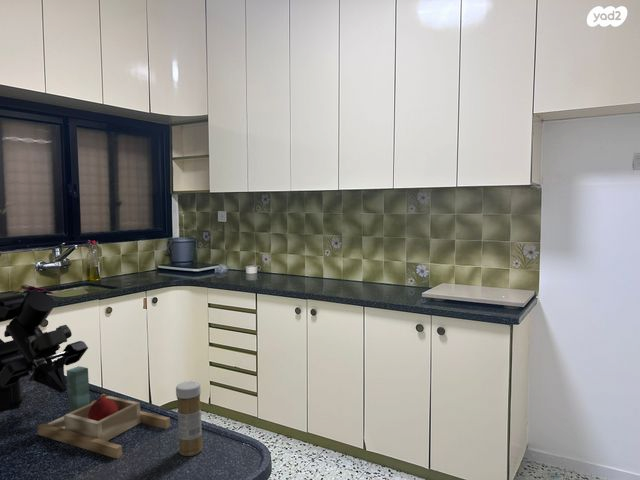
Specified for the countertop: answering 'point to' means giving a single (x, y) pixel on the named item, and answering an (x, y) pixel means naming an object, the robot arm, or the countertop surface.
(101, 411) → the onion
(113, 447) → the guide rails
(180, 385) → the sprinkles bottle
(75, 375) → the wooden open tray
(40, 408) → the countertop surface
